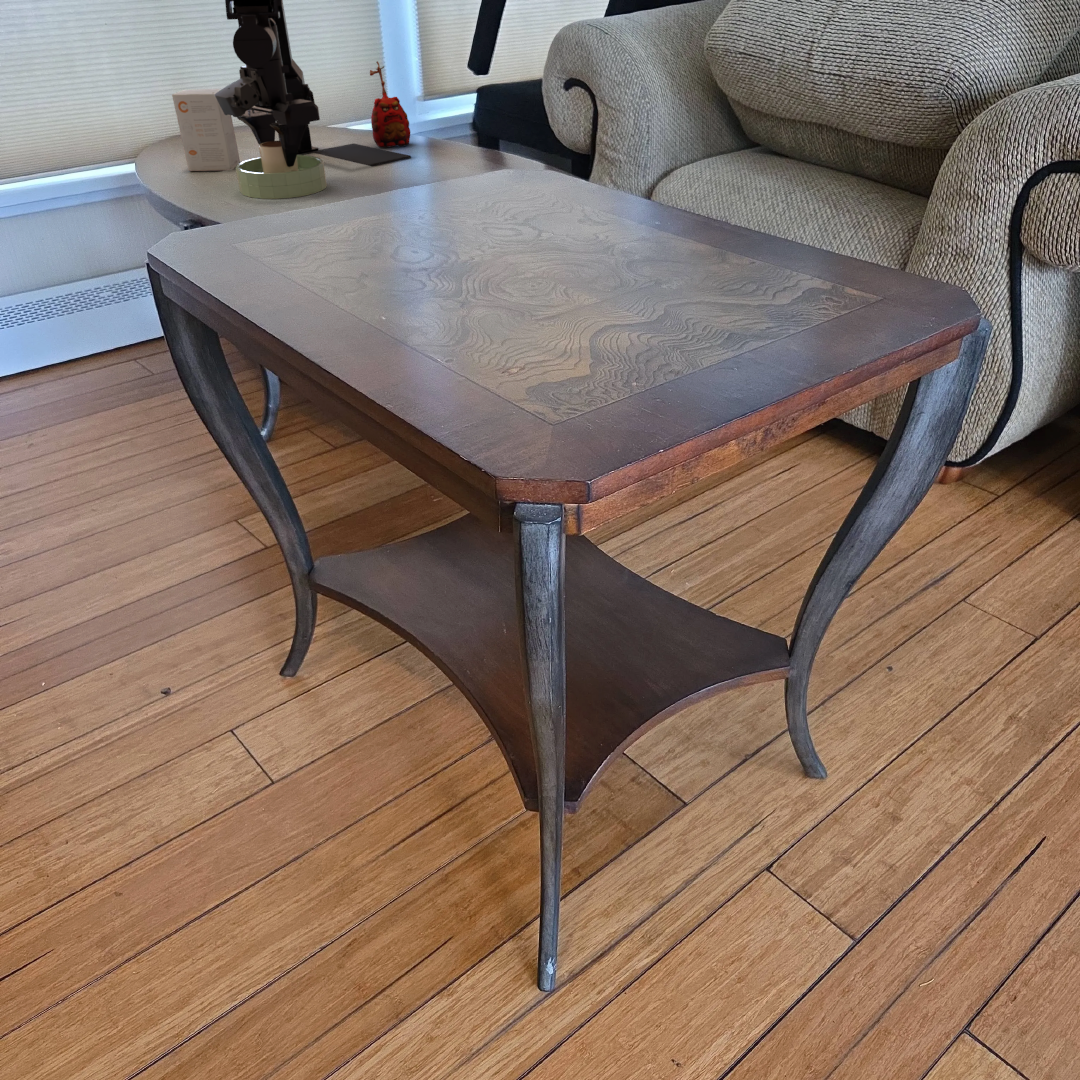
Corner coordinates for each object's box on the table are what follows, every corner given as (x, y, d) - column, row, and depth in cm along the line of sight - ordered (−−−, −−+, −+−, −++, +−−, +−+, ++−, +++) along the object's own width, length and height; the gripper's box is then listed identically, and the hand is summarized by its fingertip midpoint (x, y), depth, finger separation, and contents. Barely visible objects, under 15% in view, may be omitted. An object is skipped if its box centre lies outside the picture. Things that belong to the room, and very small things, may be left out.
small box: (241, 163, 177) (227, 87, 170) (231, 171, 172) (216, 93, 165) (198, 164, 177) (182, 88, 170) (187, 171, 172) (171, 94, 165)
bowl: (224, 193, 158) (219, 165, 156) (295, 178, 167) (291, 151, 164) (271, 207, 150) (266, 178, 147) (343, 190, 158) (340, 162, 156)
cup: (259, 188, 158) (251, 144, 154) (288, 182, 161) (281, 138, 157) (278, 194, 154) (271, 148, 151) (308, 187, 158) (301, 143, 154)
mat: (295, 157, 181) (294, 154, 181) (353, 145, 189) (353, 143, 189) (351, 170, 171) (351, 168, 170) (410, 157, 179) (410, 155, 179)
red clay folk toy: (380, 150, 185) (372, 66, 176) (367, 144, 190) (358, 62, 182) (416, 146, 188) (409, 62, 180) (402, 140, 193) (395, 59, 185)
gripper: (186, 59, 148) (207, 164, 156) (250, 69, 137) (269, 181, 146) (248, 52, 154) (264, 153, 163) (314, 61, 143) (328, 168, 152)
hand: (279, 163), depth 156 cm, fingers closed on cup, 6 cm apart
